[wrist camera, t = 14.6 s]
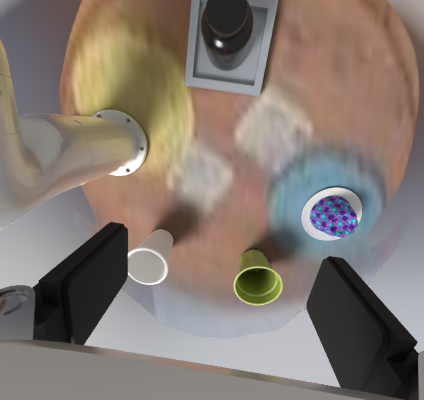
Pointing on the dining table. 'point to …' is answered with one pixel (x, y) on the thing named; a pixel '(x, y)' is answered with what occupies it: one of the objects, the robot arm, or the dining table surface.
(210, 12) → the supplement bottle
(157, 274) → the dixie cup
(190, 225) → the dining table surface
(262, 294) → the plant pot
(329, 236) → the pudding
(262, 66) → the tray
